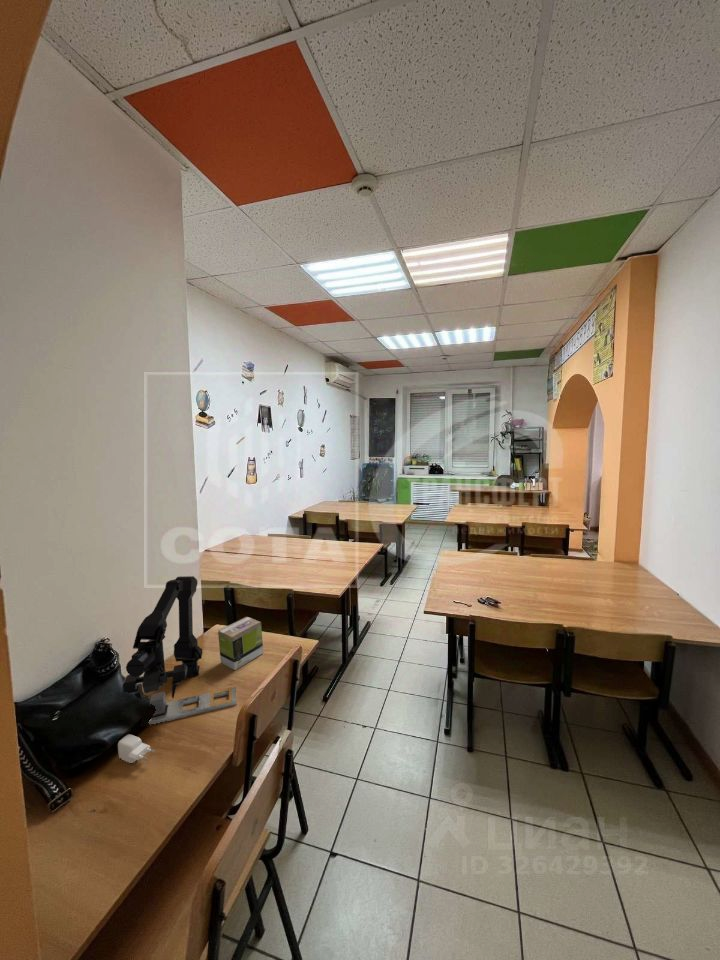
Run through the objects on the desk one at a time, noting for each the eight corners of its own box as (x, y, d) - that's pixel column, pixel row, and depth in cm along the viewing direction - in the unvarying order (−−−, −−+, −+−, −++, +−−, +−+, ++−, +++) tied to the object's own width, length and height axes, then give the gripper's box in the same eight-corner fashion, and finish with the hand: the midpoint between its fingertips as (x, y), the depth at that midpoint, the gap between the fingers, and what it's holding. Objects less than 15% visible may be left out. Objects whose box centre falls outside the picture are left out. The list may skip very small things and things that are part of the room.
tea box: (249, 646, 170) (247, 615, 169) (263, 653, 164) (262, 621, 163) (219, 663, 158) (217, 629, 156) (234, 671, 152) (232, 636, 151)
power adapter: (158, 759, 111) (157, 741, 110) (143, 773, 106) (141, 754, 106) (131, 748, 115) (130, 731, 114) (116, 761, 111) (114, 743, 110)
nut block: (153, 713, 130) (151, 694, 129) (166, 710, 131) (164, 691, 130) (151, 721, 126) (149, 701, 125) (164, 718, 127) (163, 698, 127)
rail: (145, 711, 131) (144, 706, 131) (235, 690, 141) (235, 686, 140) (140, 727, 123) (139, 723, 123) (236, 704, 133) (236, 700, 133)
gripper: (115, 678, 116) (120, 725, 118) (182, 665, 122) (185, 709, 124) (124, 658, 126) (128, 701, 128) (185, 647, 132) (188, 688, 134)
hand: (158, 700), depth 128 cm, fingers open, 9 cm apart
